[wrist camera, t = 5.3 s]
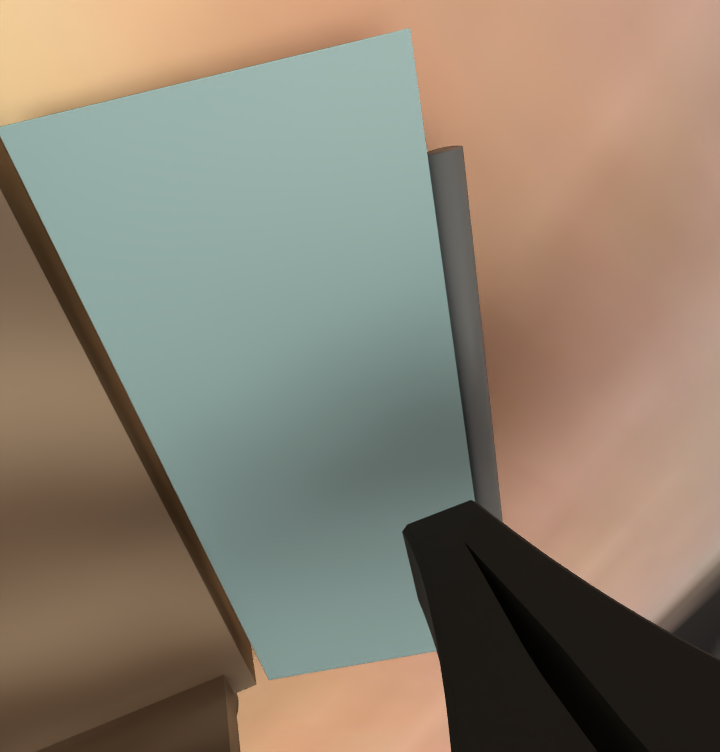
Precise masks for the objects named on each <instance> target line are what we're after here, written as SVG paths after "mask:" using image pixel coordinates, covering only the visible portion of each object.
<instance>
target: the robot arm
mask: <svg viewBox="0 0 720 752" xmlns="http://www.w3.org/2000/svg"><path fill="white" fill-rule="evenodd" d="M402 533H403V538H404V542H405V546H406V550H407V555H408V559H409V563H410V567H411V572H412V576H413V580H414V585H415V589H416V593H417V597H418V601H419V603H420V606H421V608H422V610H423V613H424V616H425V618H426V621H427V624H428V627H429V629H430V632H431V635H432V638H433V641H434V644H435V647H436V650H437V654H438V657H439V661H440V666H441V672H442V679H443V686H444V692H445V699H446V707H447V716H448V724H449V734H450V744H451V752H720V659H718V658H716V657H714V656H712V655H711V654H709V653H707V652H705V651H703V650H701V649H699V648H697V647H696V646H693V645H692V644H690V643H688V642H686V641H684V640H682V639H680V638H679V637H677V636H675V635H673V634H672V633H670V632H668V631H666V630H664V629H663V628H661V627H659V626H657V625H656V624H654V623H652V622H651V621H649V620H647V619H645V618H644V617H642V616H640V615H639V614H637V613H635V612H634V611H632V610H630V609H629V608H627V607H625V606H624V605H622V604H620V603H619V602H617V601H616V600H614V599H612V598H611V597H609V596H607V595H606V594H604V593H603V592H601V591H600V590H598V589H596V588H595V587H593V586H592V585H590V584H589V583H587V582H586V581H584V580H583V579H581V578H580V577H578V576H577V575H575V574H574V573H572V572H571V571H569V570H568V569H566V568H565V567H563V566H562V565H560V564H559V563H557V562H556V561H554V560H553V559H552V558H550V557H549V556H547V555H546V554H544V553H543V552H542V551H540V550H539V549H537V548H536V547H535V546H533V545H532V544H531V543H529V542H528V541H526V540H525V539H524V538H522V537H521V536H520V535H518V534H517V533H516V532H514V531H513V530H512V529H510V528H509V527H508V526H506V525H505V524H504V523H502V522H501V521H500V520H499V519H497V518H496V517H495V516H494V515H492V514H491V513H490V512H488V511H487V510H486V509H485V508H483V507H482V506H481V505H480V504H478V503H477V502H475V501H473V500H469V501H467V502H464V503H461V504H459V505H456V506H454V507H451V508H448V509H446V510H443V511H441V512H438V513H435V514H433V515H430V516H428V517H425V518H423V519H420V520H417V521H415V522H412V523H410V524H407V525H406V527H405V528H404V530H403V531H402Z"/></svg>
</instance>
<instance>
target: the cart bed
mask: <svg viewBox="0 0 720 752" xmlns="http://www.w3.org/2000/svg"><path fill="white" fill-rule="evenodd" d="M254 685H256V678H255V671H254V664H253V657H252V650H251V643H250V641H249V639H248V637H247V635H246V633H245V631H244V629H243V627H242V625H241V623H240V621H239V619H238V617H237V615H236V613H235V611H234V609H233V607H232V605H231V603H230V601H229V599H228V597H227V595H226V593H225V591H224V589H223V587H222V585H221V583H220V581H219V579H218V577H217V575H216V573H215V571H214V569H213V567H212V565H211V563H210V560H209V558H208V556H207V554H206V552H205V550H204V548H203V546H202V544H201V542H200V540H199V538H198V536H197V534H196V532H195V530H194V528H193V526H192V524H191V522H190V520H189V518H188V516H187V514H186V512H185V510H184V508H183V506H182V504H181V502H180V500H179V498H178V496H177V494H176V492H175V490H174V488H173V486H172V484H171V482H170V480H169V478H168V476H167V474H166V472H165V470H164V467H163V465H162V463H161V461H160V459H159V457H158V455H157V453H156V451H155V449H154V447H153V445H152V443H151V441H150V439H149V437H148V435H147V433H146V431H145V429H144V427H143V425H142V423H141V421H140V419H139V417H138V415H137V413H136V411H135V409H134V407H133V405H132V403H131V401H130V399H129V397H128V395H127V393H126V391H125V389H124V387H123V385H122V383H121V381H120V379H119V376H118V374H117V372H116V370H115V368H114V366H113V364H112V362H111V360H110V358H109V356H108V354H107V352H106V350H105V348H104V346H103V344H102V342H101V340H100V338H99V336H98V334H97V332H96V330H95V328H94V326H93V324H92V322H91V320H90V318H89V316H88V314H87V312H86V310H85V308H84V306H83V304H82V302H81V300H80V298H79V296H78V294H77V292H76V290H75V288H74V286H73V283H72V281H71V279H70V277H69V275H68V273H67V271H66V269H65V267H64V265H63V263H62V261H61V259H60V257H59V255H58V253H57V251H56V249H55V247H54V245H53V243H52V241H51V239H50V237H49V235H48V233H47V231H46V229H45V227H44V225H43V223H42V221H41V219H40V217H39V215H38V213H37V211H36V209H35V207H34V205H33V203H32V201H31V199H30V197H29V195H28V192H27V190H26V188H25V186H24V184H23V182H22V180H21V178H20V176H19V174H18V172H17V170H16V168H15V166H14V164H13V162H12V160H11V158H10V156H9V154H8V152H7V150H6V148H5V146H4V144H3V142H2V140H1V138H0V752H240V744H239V734H238V724H237V712H238V696H237V692H239V691H242V690H244V689H247V688H249V687H251V686H254Z"/></svg>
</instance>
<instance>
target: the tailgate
mask: <svg viewBox="0 0 720 752" xmlns="http://www.w3.org/2000/svg"><path fill="white" fill-rule="evenodd" d="M0 137H1V139H2V141H3V143H4V145H5V147H6V149H7V151H8V153H9V155H10V157H11V159H12V161H13V163H14V165H15V167H16V169H17V171H18V173H19V175H20V177H21V179H22V181H23V183H24V185H25V187H26V189H27V191H28V193H29V195H30V197H31V200H32V202H33V204H34V206H35V208H36V210H37V212H38V214H39V216H40V218H41V220H42V222H43V224H44V226H45V228H46V230H47V232H48V234H49V236H50V238H51V240H52V242H53V244H54V246H55V248H56V250H57V252H58V254H59V256H60V258H61V260H62V262H63V264H64V266H65V268H66V270H67V272H68V274H69V276H70V278H71V280H72V282H73V285H74V287H75V289H76V291H77V293H78V295H79V297H80V299H81V301H82V303H83V305H84V307H85V309H86V311H87V313H88V315H89V317H90V319H91V321H92V323H93V325H94V327H95V329H96V331H97V333H98V335H99V337H100V339H101V341H102V343H103V345H104V347H105V349H106V351H107V353H108V355H109V357H110V359H111V361H112V363H113V365H114V367H115V370H116V372H117V374H118V376H119V378H120V380H121V382H122V384H123V386H124V388H125V390H126V392H127V394H128V396H129V398H130V400H131V402H132V404H133V406H134V408H135V410H136V412H137V414H138V416H139V418H140V420H141V422H142V424H143V426H144V428H145V430H146V432H147V434H148V436H149V438H150V440H151V442H152V444H153V446H154V448H155V450H156V452H157V455H158V457H159V459H160V461H161V463H162V465H163V467H164V469H165V471H166V473H167V475H168V477H169V479H170V481H171V483H172V485H173V487H174V489H175V491H176V493H177V495H178V497H179V499H180V501H181V503H182V505H183V507H184V509H185V511H186V513H187V515H188V517H189V519H190V521H191V523H192V525H193V527H194V529H195V531H196V533H197V535H198V538H199V540H200V542H201V544H202V546H203V548H204V550H205V552H206V554H207V556H208V558H209V560H210V562H211V564H212V566H213V568H214V570H215V572H216V574H217V576H218V578H219V580H220V582H221V584H222V586H223V588H224V590H225V592H226V594H227V596H228V598H229V600H230V602H231V604H232V606H233V608H234V610H235V612H236V614H237V616H238V618H239V620H240V623H241V625H242V627H243V629H244V631H245V633H246V635H247V637H248V639H249V641H250V643H251V645H252V647H253V649H254V651H255V653H256V655H257V657H258V659H259V661H260V663H261V665H262V667H263V669H264V671H265V673H266V675H267V677H268V679H269V680H272V679H277V678H283V677H289V676H295V675H301V674H306V673H312V672H318V671H324V670H330V669H335V668H341V667H347V666H353V665H358V664H364V663H370V662H376V661H382V660H387V659H393V658H399V657H405V656H411V655H416V654H422V653H428V652H434V651H437V650H436V647H435V644H434V641H433V638H432V635H431V632H430V629H429V627H428V624H427V621H426V618H425V616H424V613H423V610H422V608H421V606H420V603H419V601H418V597H417V593H416V589H415V585H414V580H413V576H412V572H411V567H410V563H409V559H408V555H407V550H406V546H405V542H404V538H403V533H402V531H403V530H404V528H405V527H406V525H407V524H410V523H412V522H415V521H417V520H420V519H423V518H425V517H428V516H430V515H433V514H435V513H438V512H441V511H443V510H446V509H448V508H451V507H454V506H456V505H459V504H461V503H464V502H467V501H469V500H473V501H475V502H477V503H478V504H480V505H481V506H482V507H483V508H485V509H486V510H487V511H488V512H490V513H491V514H492V515H494V516H495V517H496V518H497V519H499V520H500V521H501V522H502V523H503V521H502V511H501V502H500V492H499V483H498V474H497V464H496V455H495V445H494V436H493V426H492V417H491V408H490V398H489V389H488V379H487V370H486V361H485V351H484V342H483V332H482V323H481V314H480V304H479V295H478V285H477V276H476V267H475V257H474V248H473V238H472V229H471V220H470V210H469V201H468V191H467V182H466V173H465V163H464V154H463V147H462V146H449V147H443V148H438V149H435V150H432V151H429V152H427V148H426V141H425V134H424V127H423V119H422V112H421V105H420V97H419V90H418V83H417V76H416V68H415V61H414V54H413V46H412V39H411V32H410V28H409V29H404V30H400V31H396V32H392V33H388V34H384V35H379V36H375V37H371V38H367V39H363V40H359V41H355V42H350V43H346V44H342V45H338V46H334V47H330V48H326V49H321V50H317V51H313V52H309V53H305V54H301V55H296V56H292V57H288V58H284V59H280V60H276V61H272V62H267V63H263V64H259V65H255V66H251V67H247V68H242V69H238V70H234V71H230V72H226V73H222V74H218V75H213V76H209V77H205V78H201V79H197V80H193V81H189V82H184V83H180V84H176V85H172V86H168V87H164V88H159V89H155V90H151V91H147V92H143V93H139V94H135V95H130V96H126V97H122V98H118V99H114V100H110V101H105V102H101V103H97V104H93V105H89V106H85V107H81V108H76V109H72V110H68V111H64V112H60V113H56V114H51V115H47V116H43V117H39V118H35V119H31V120H27V121H22V122H18V123H14V124H10V125H6V126H2V127H0Z"/></svg>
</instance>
